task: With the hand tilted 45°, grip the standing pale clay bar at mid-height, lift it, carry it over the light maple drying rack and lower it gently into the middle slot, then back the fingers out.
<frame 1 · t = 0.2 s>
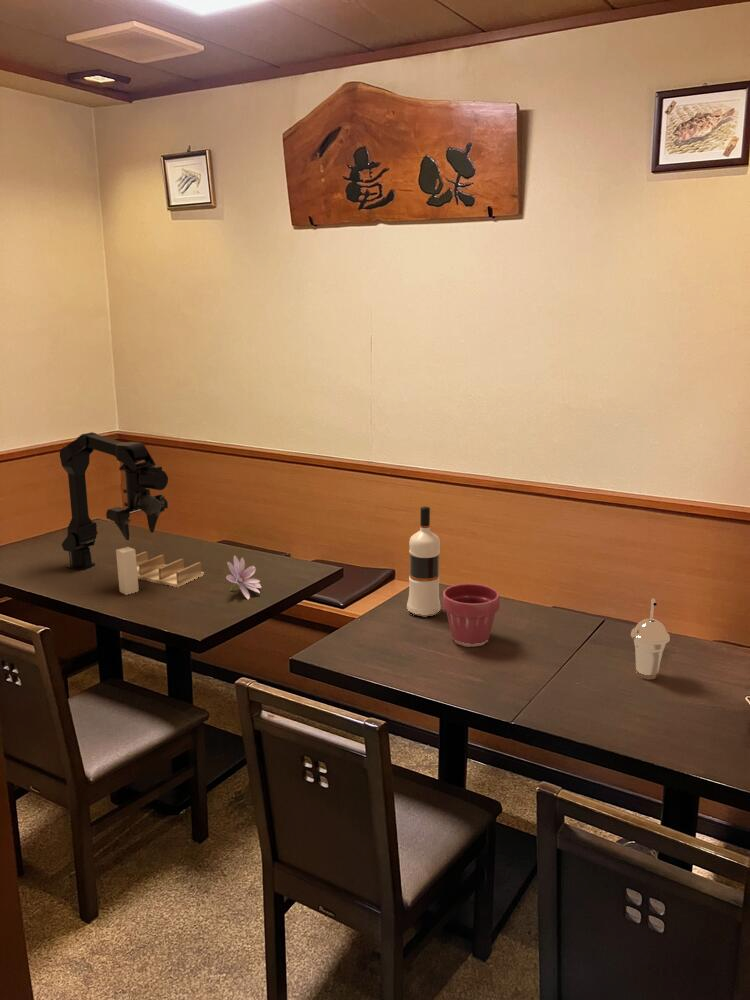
hand: (139, 536, 241), 14 cm above the table, tool pointing down, fingers open, 9 cm apart
clay bar: (129, 591, 236), on the table
water lily: (245, 594, 235), on the table
cup with straw: (645, 676, 185), on the table
vodka: (423, 612, 221), on the table
drying rack: (162, 575, 250), on the table
plant pot: (469, 640, 204), on the table
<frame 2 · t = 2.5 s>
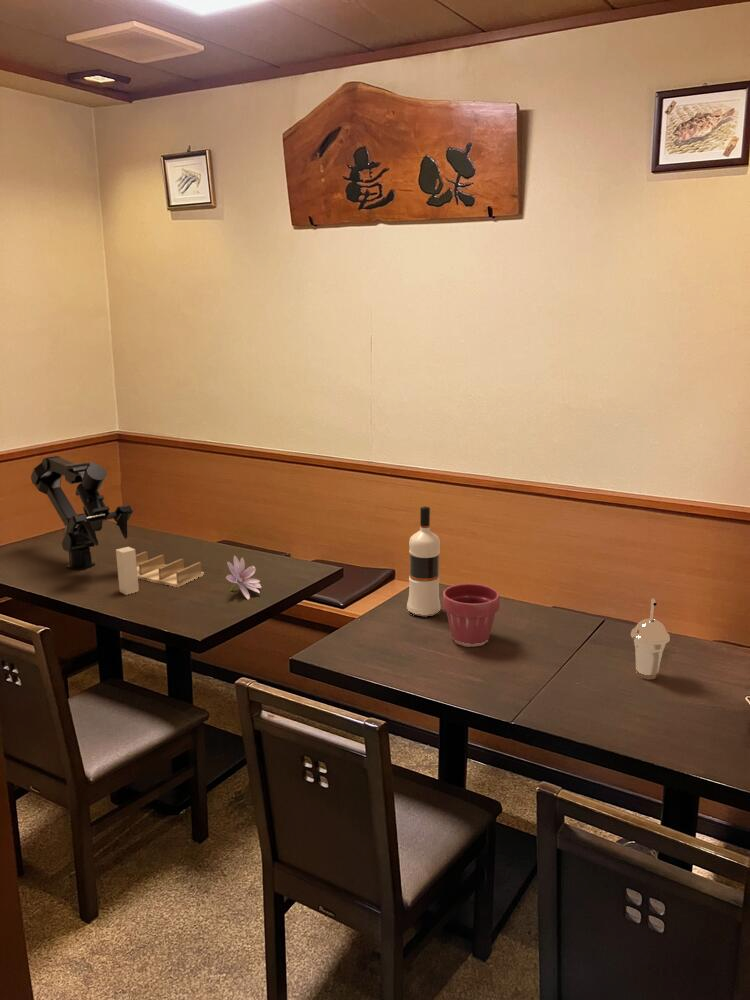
hand: (112, 541, 238), 14 cm above the table, tool tilted 45°, fingers open, 9 cm apart
nothing on the table moved.
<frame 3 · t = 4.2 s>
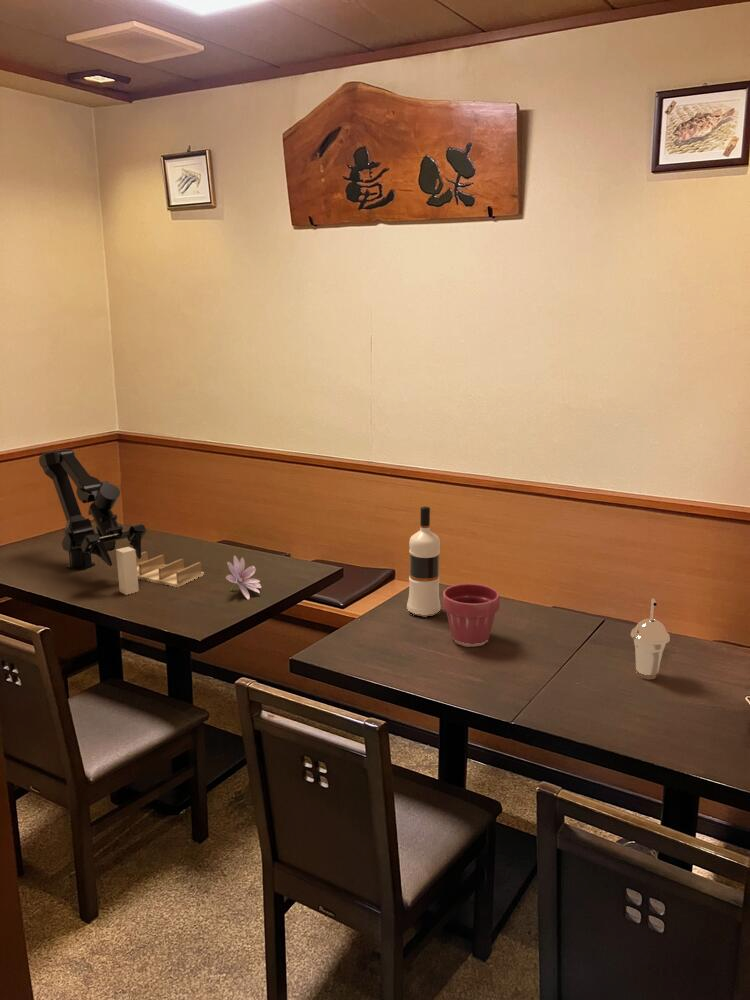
hand: (125, 561, 234), 9 cm above the table, tool tilted 45°, fingers open, 9 cm apart
nothing on the table moved.
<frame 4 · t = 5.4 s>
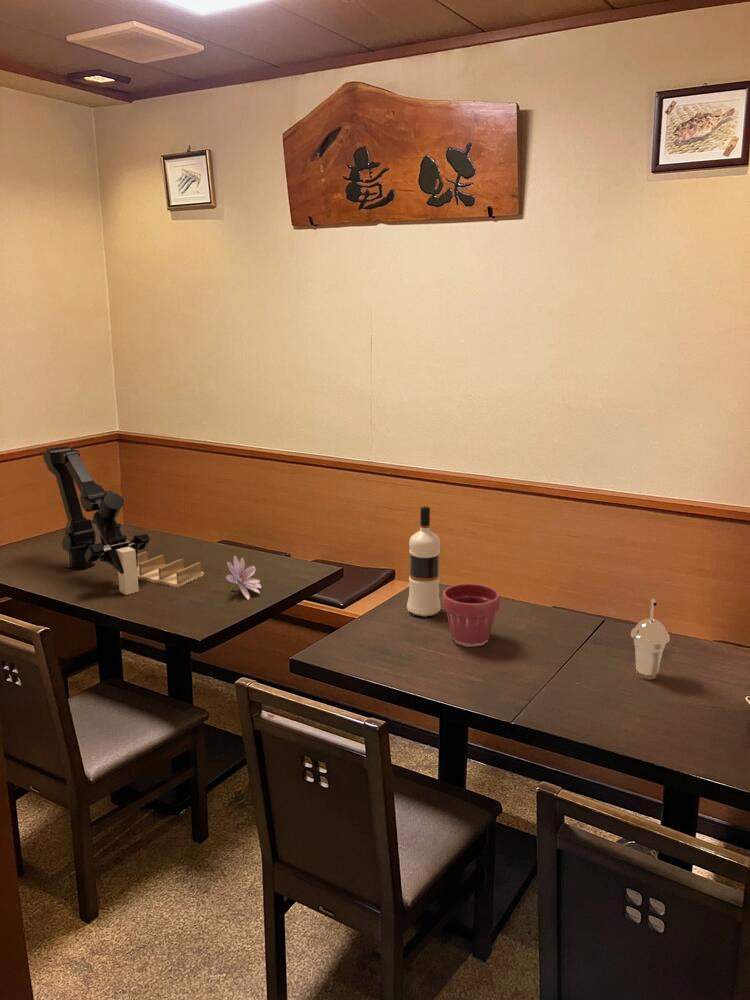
hand: (129, 571, 234), 7 cm above the table, tool tilted 45°, fingers closed on clay bar, 4 cm apart
clay bar: (129, 591, 236), on the table, touching gripper
everything else where it was.
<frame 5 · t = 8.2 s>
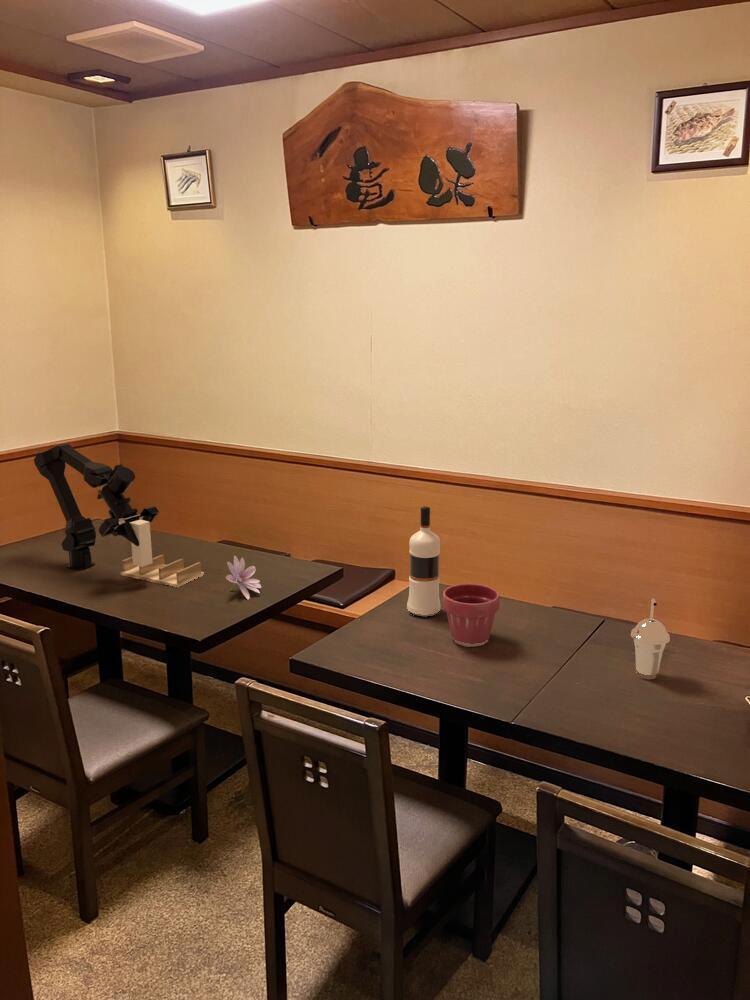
hand: (144, 543, 237), 13 cm above the table, tool tilted 45°, fingers closed on clay bar, 4 cm apart
clay bar: (142, 563, 239), point 7 cm above the table, touching gripper
everything else where it was.
when the fingers open (9 cm above the table, at t = 10.9 s): clay bar drops 1 cm, resting on drying rack.
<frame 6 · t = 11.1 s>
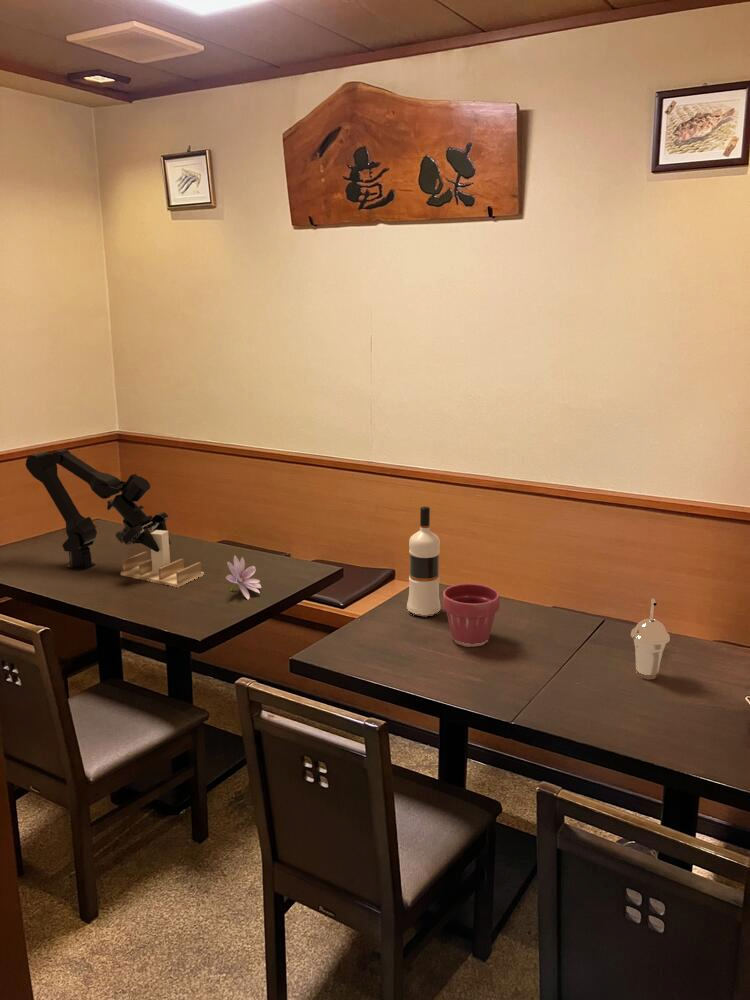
hand: (164, 548, 247), 9 cm above the table, tool tilted 45°, fingers open, 6 cm apart
clay bar: (161, 572, 249), point 1 cm above the table, touching drying rack
everything else where it was.
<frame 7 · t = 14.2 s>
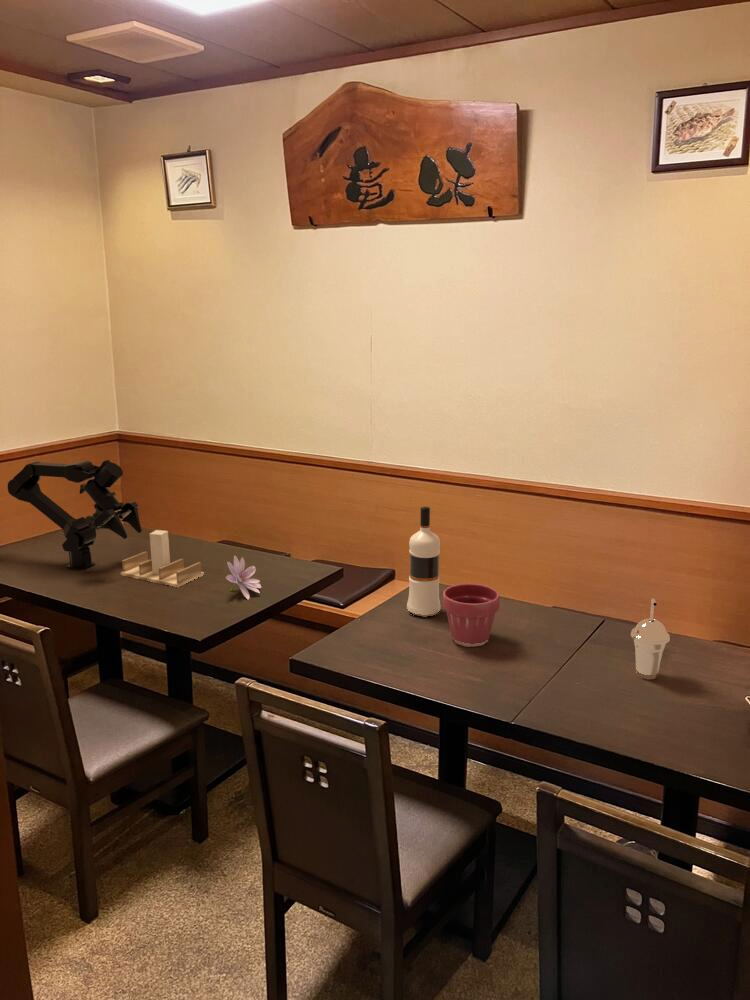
hand: (133, 535, 248), 12 cm above the table, tool tilted 40°, fingers open, 9 cm apart
nothing on the table moved.
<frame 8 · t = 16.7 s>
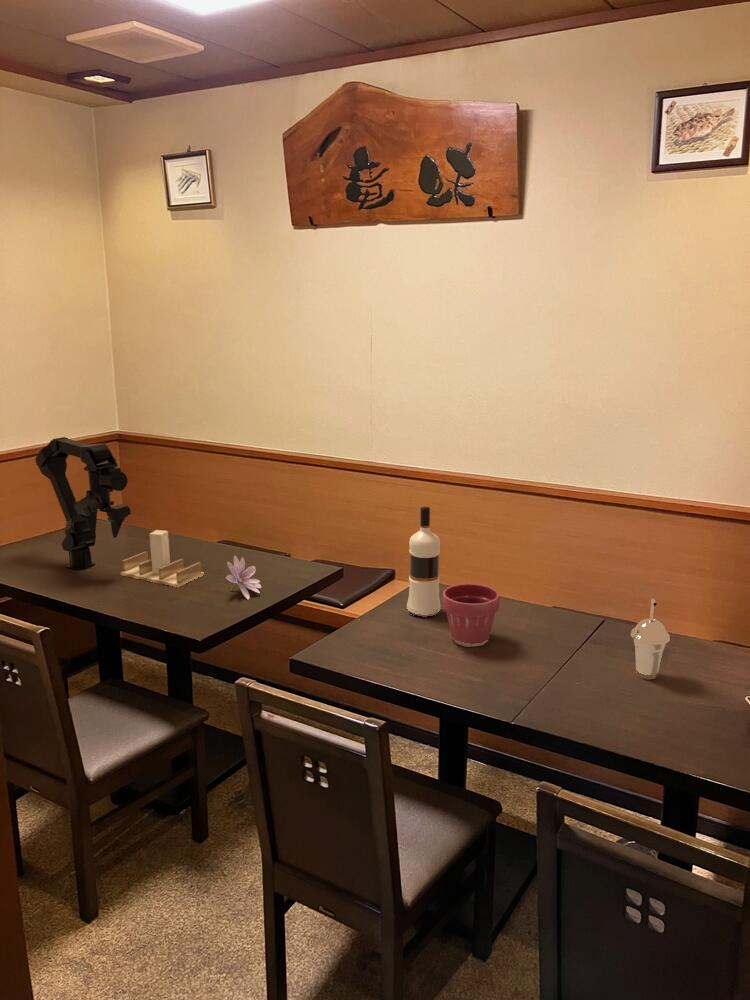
hand: (104, 535, 246), 13 cm above the table, tool pointing down, fingers open, 9 cm apart
nothing on the table moved.
at the end: clay bar inside the target area on the drying rack (0.1 cm from its centre), point 1.0 cm above the drying rack's base; clay bar tilted 0°; the gripper is holding nothing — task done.
